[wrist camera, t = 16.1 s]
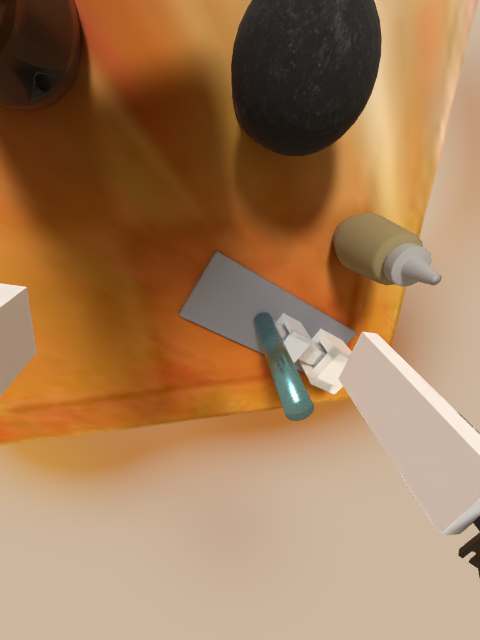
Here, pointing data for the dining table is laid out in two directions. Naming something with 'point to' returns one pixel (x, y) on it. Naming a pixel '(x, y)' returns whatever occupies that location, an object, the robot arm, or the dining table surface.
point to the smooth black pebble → (304, 70)
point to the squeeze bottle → (383, 251)
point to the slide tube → (287, 366)
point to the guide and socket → (264, 296)
